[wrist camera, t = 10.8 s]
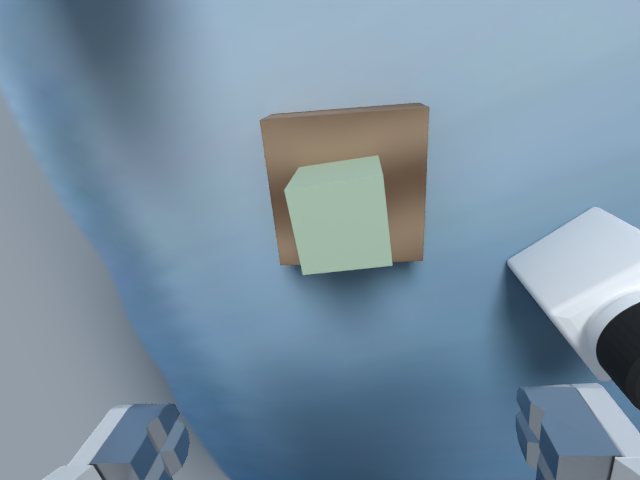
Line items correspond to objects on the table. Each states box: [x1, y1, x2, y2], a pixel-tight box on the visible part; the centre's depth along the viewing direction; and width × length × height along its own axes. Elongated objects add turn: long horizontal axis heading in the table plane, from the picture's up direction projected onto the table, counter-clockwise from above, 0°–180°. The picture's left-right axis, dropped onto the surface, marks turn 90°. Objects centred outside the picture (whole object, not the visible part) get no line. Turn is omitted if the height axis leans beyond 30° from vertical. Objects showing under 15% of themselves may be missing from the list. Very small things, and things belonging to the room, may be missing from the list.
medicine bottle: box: [507, 207, 640, 410], centre depth 22 cm, size 7×7×12 cm
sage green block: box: [284, 155, 393, 275], centre depth 21 cm, size 5×5×5 cm
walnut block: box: [260, 103, 429, 265], centre depth 25 cm, size 10×10×4 cm
